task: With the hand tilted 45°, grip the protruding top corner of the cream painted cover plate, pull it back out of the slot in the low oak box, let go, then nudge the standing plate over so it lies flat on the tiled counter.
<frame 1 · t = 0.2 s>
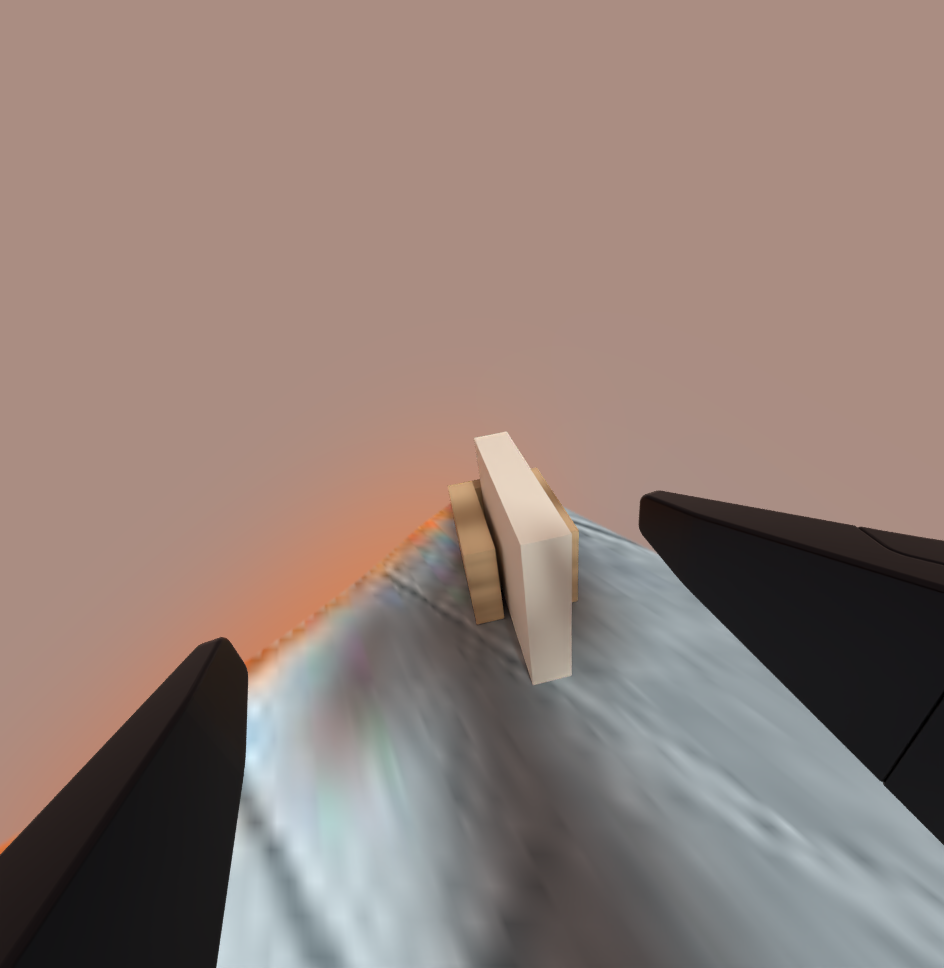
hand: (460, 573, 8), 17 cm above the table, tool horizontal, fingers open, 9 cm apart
oak box: (512, 571, 31), on the table
cover plate: (523, 603, 28), on the table
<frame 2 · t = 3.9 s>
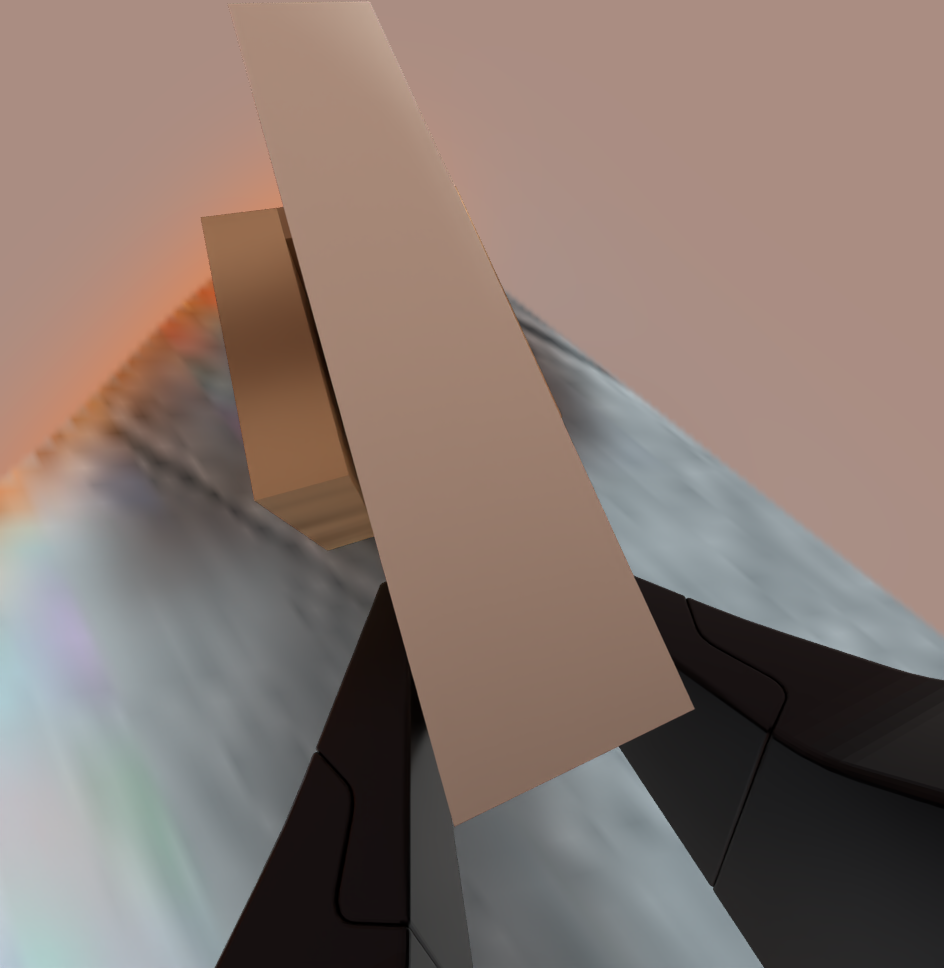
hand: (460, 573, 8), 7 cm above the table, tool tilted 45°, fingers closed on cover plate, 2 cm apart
oak box: (393, 427, 16), on the table
cover plate: (416, 500, 15), on the table, touching gripper
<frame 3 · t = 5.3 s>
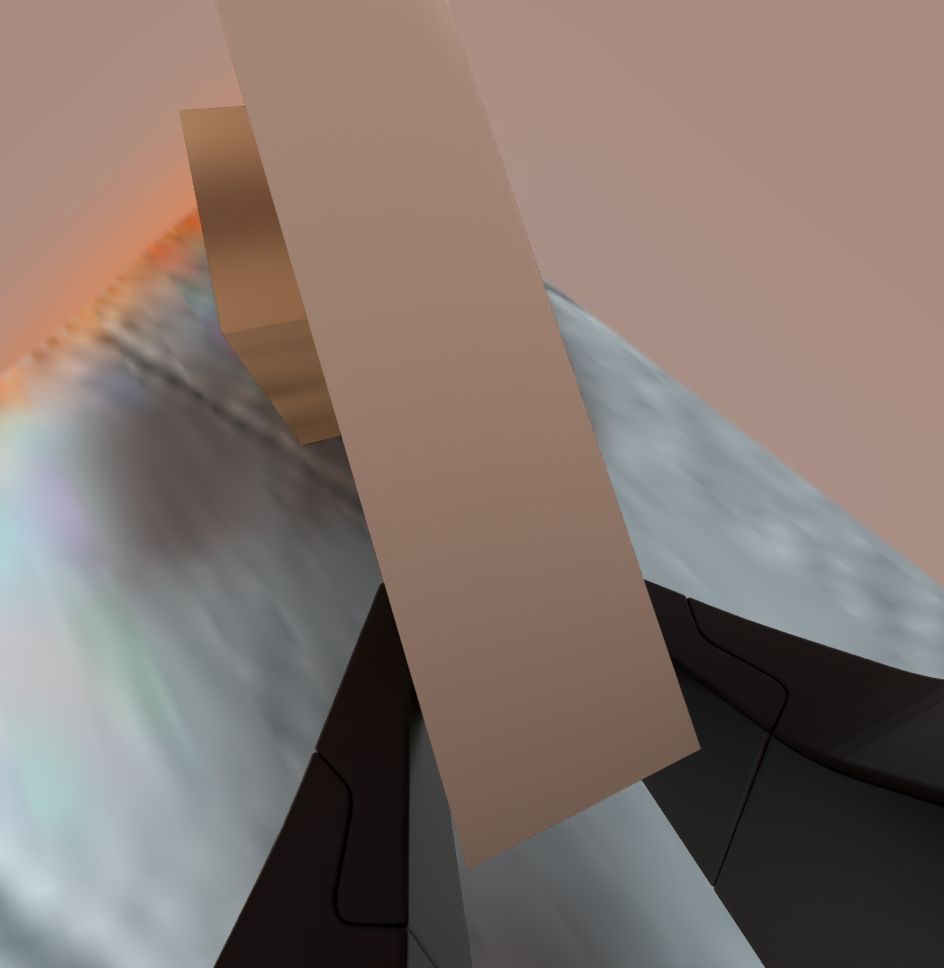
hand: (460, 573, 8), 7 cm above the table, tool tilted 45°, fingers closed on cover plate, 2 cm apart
oak box: (366, 341, 17), on the table
cover plate: (401, 446, 15), point 1 cm above the table, tilted 12°, touching gripper
when the fingers open (7 cm above the table, at t = 6.5 s): cover plate stays where it is, on the table.
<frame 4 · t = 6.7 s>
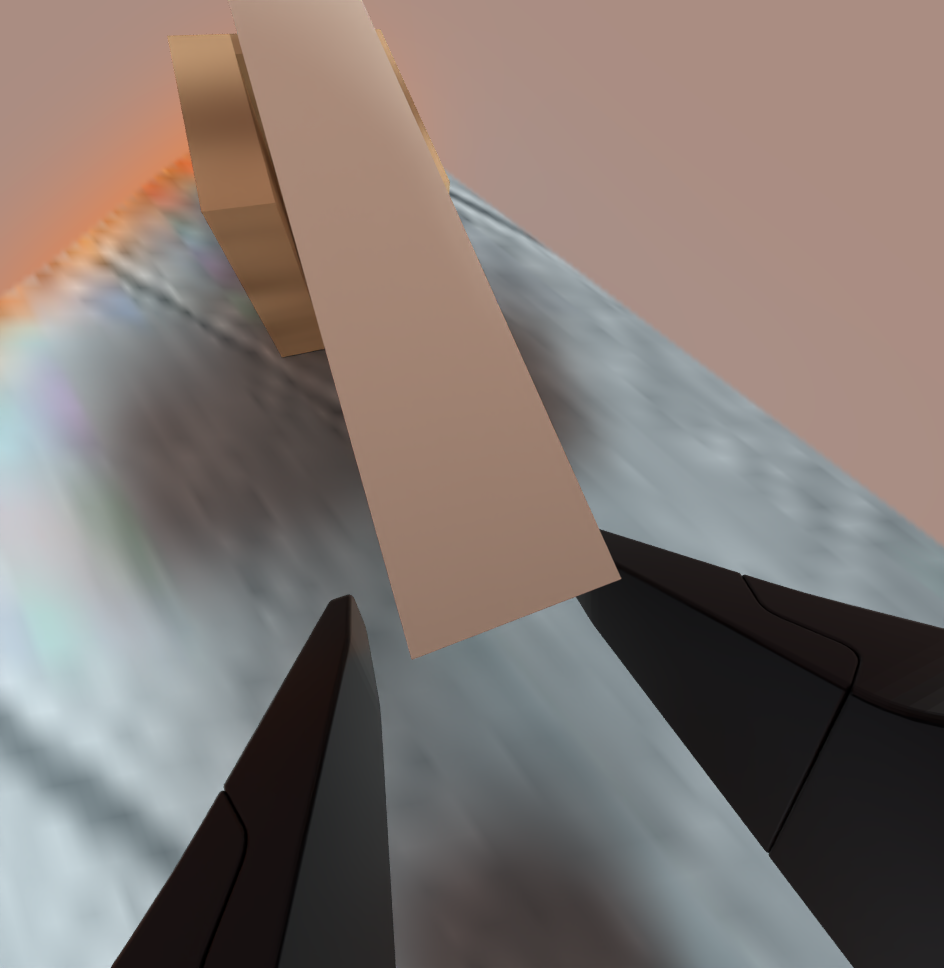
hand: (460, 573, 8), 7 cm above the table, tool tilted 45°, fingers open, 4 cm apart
oak box: (343, 271, 19), on the table
cover plate: (407, 472, 16), on the table
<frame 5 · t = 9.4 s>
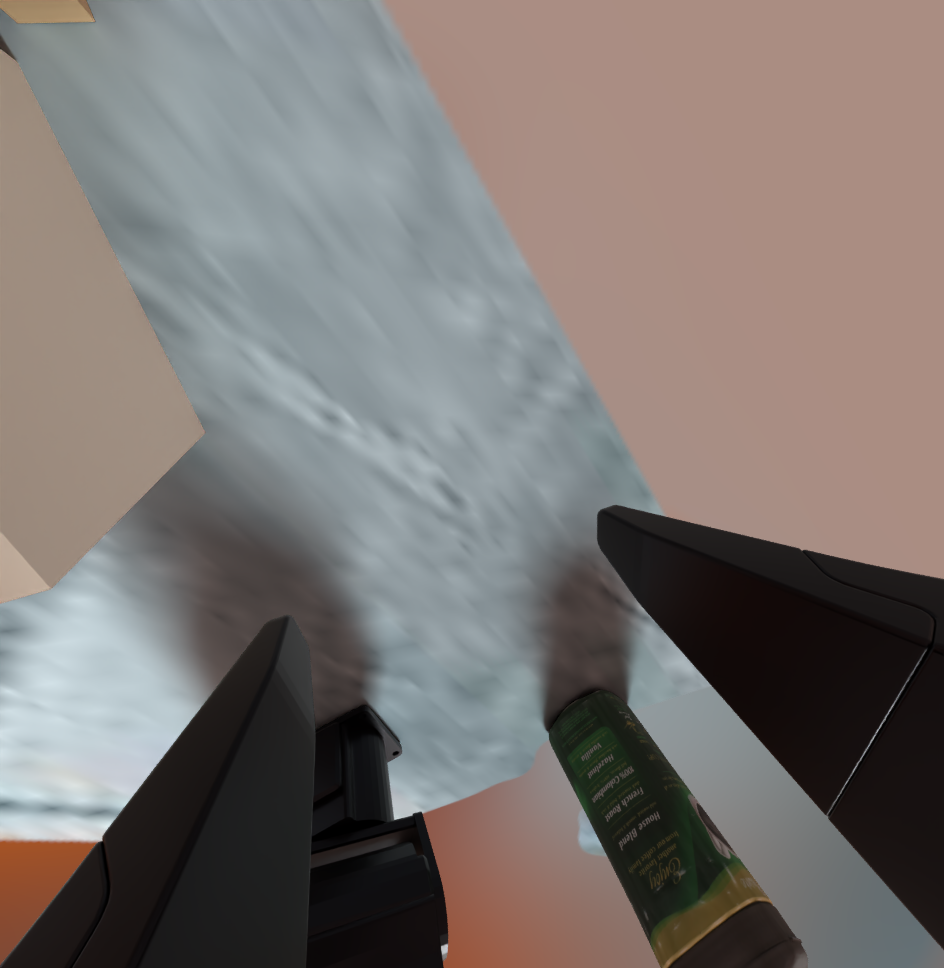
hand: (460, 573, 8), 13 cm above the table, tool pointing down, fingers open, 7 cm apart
coffee jar: (586, 718, 37), on the table
cover plate: (93, 288, 14), on the table
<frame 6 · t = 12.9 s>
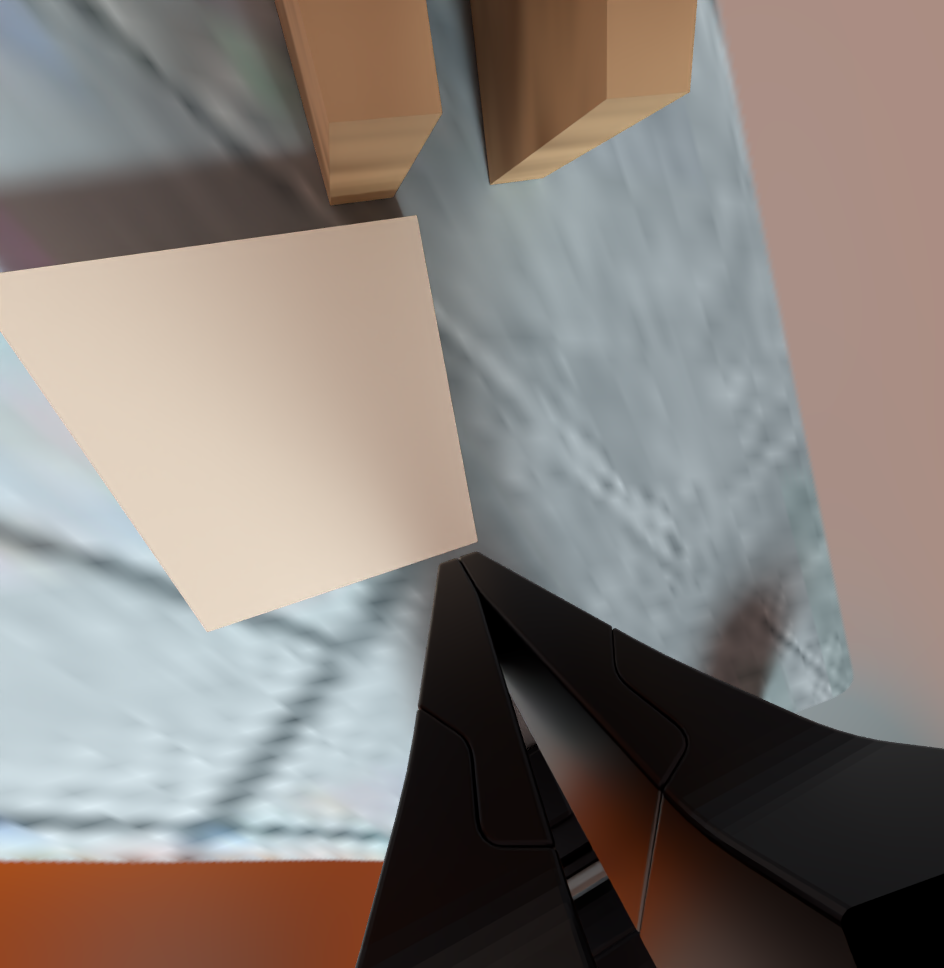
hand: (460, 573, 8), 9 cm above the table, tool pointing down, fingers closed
oak box: (413, 5, 11), on the table
cover plate: (445, 403, 15), point 1 cm above the table, tilted 90°
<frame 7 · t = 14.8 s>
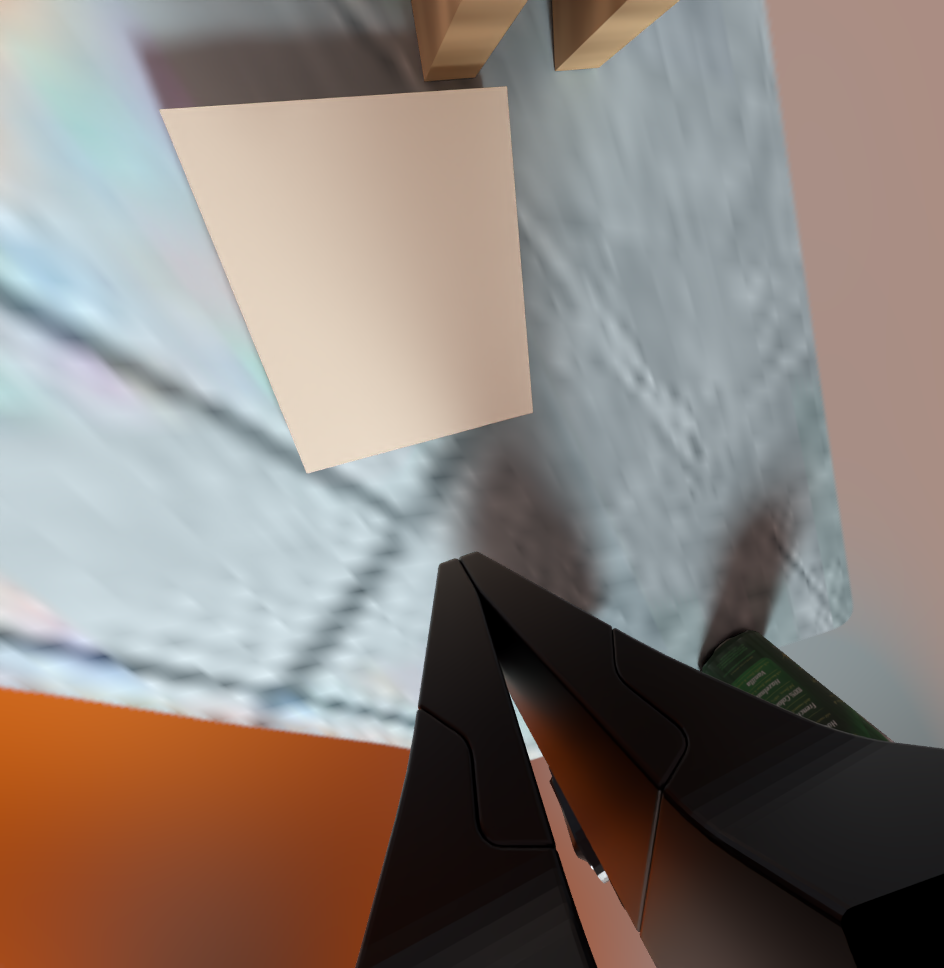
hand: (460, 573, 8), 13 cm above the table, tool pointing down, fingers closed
coffee jar: (727, 657, 42), on the table
cover plate: (510, 279, 17), point 1 cm above the table, tilted 90°
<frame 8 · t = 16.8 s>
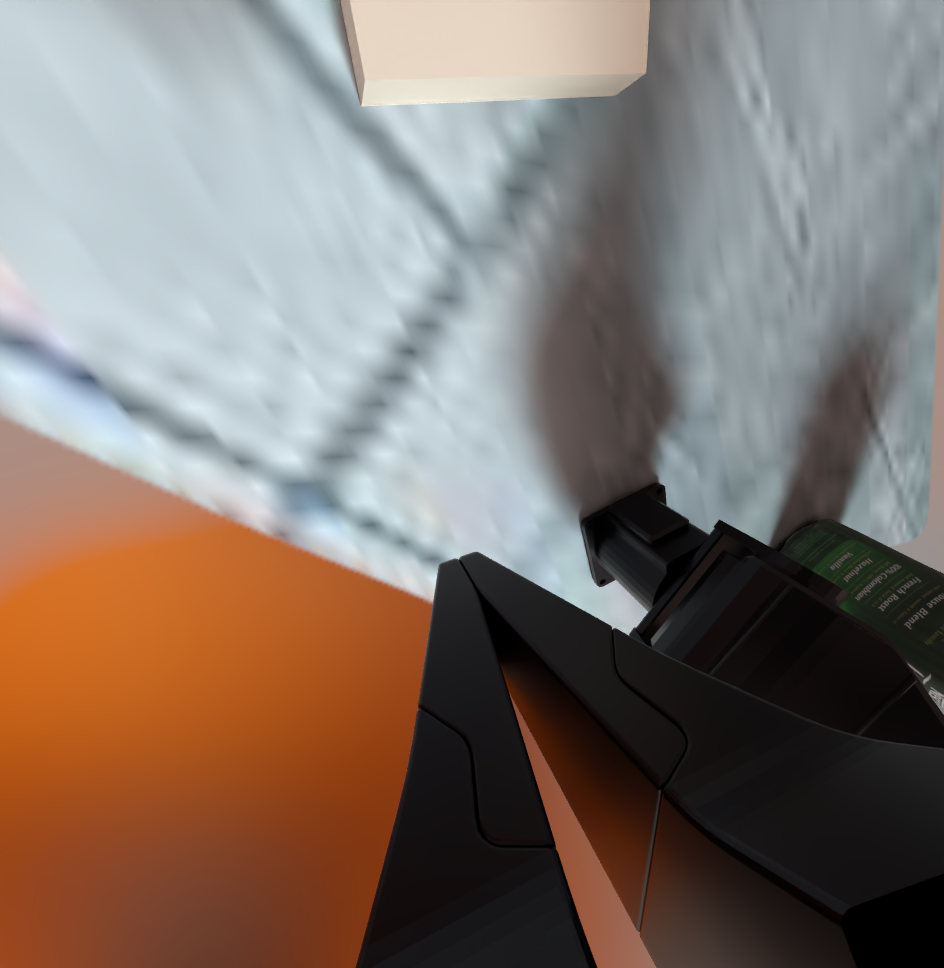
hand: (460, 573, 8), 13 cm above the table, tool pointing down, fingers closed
coffee jar: (795, 558, 38), on the table
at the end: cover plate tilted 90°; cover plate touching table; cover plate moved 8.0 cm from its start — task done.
